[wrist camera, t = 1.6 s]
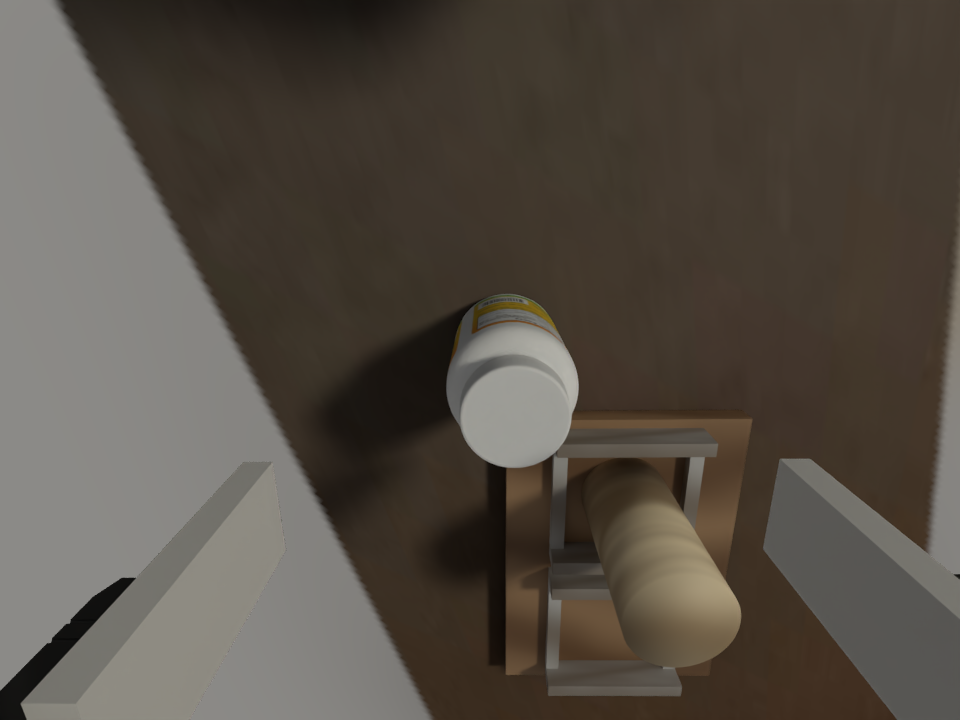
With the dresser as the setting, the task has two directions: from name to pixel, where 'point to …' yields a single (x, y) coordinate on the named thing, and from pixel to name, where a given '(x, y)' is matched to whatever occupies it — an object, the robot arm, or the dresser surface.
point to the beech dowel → (657, 567)
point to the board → (572, 551)
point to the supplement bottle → (511, 382)
